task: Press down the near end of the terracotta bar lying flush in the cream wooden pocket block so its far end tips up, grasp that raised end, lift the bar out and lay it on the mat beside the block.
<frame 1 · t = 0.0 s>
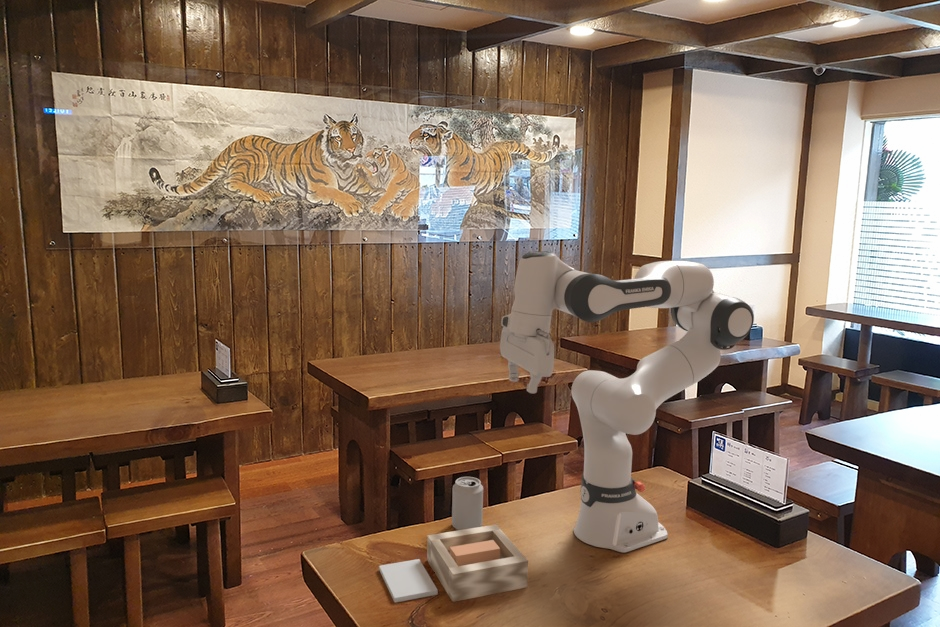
hand: (522, 386, 157), 39 cm above the table, tool pointing down, fingers open, 8 cm apart
bar: (474, 560, 153), point 3 cm above the table, touching pocket block
pocket block: (474, 573, 153), on the table
mat: (407, 581, 149), on the table
can: (467, 527, 174), on the table
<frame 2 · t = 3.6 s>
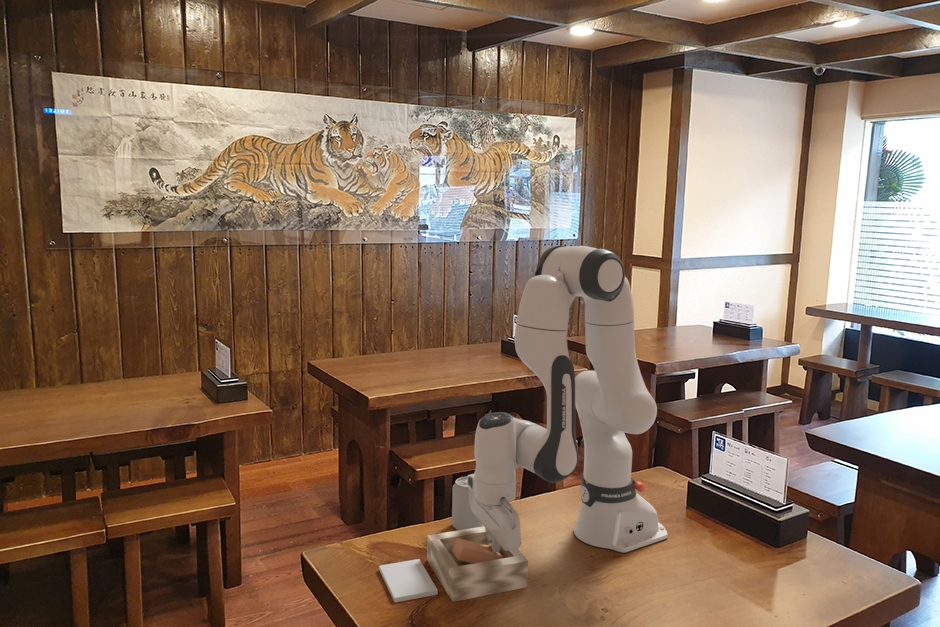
hand: (493, 548, 154), 5 cm above the table, tool pointing down, fingers closed, pressing on bar
bar: (474, 559, 153), point 3 cm above the table, tilted 23°, touching gripper, pocket block
everything else where it was.
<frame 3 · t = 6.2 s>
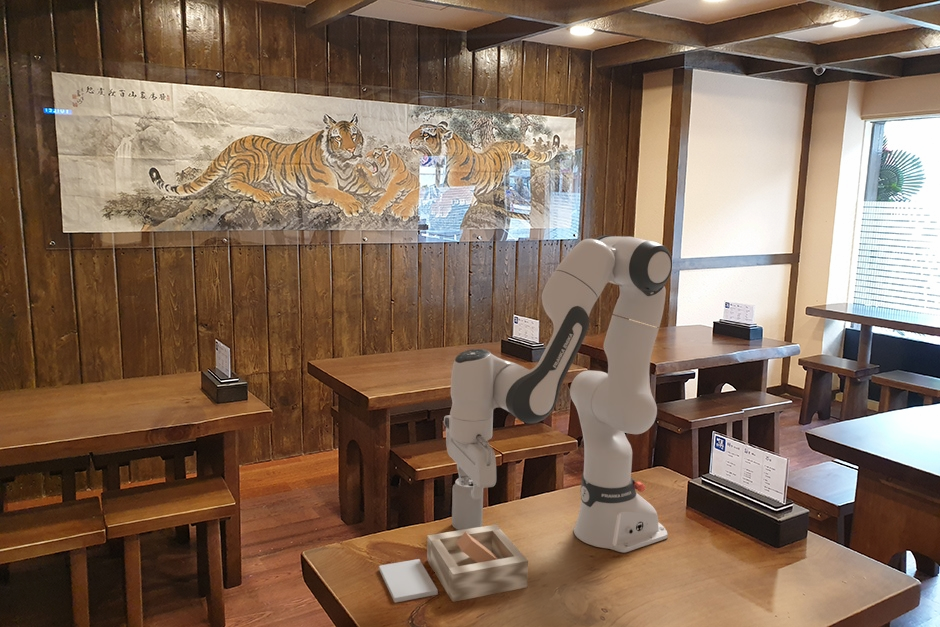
hand: (469, 491, 149), 19 cm above the table, tool pointing down, fingers open, 6 cm apart
bar: (475, 559, 153), point 3 cm above the table, tilted 43°, touching pocket block
everything else where it was.
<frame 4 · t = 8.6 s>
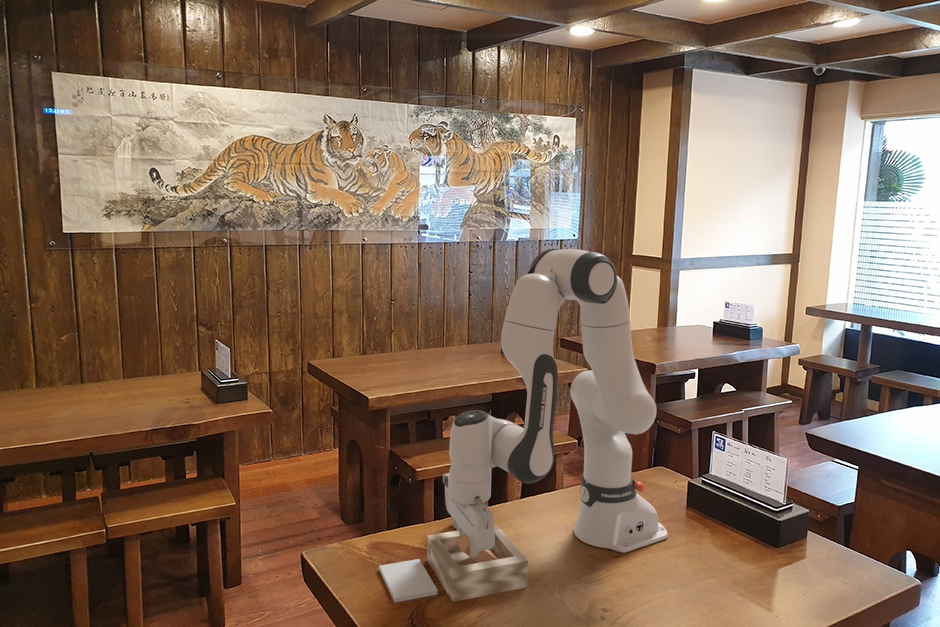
hand: (468, 549, 152), 6 cm above the table, tool pointing down, fingers closed on bar, 4 cm apart
bar: (475, 559, 153), point 3 cm above the table, tilted 43°, touching gripper, pocket block
everything else where it was.
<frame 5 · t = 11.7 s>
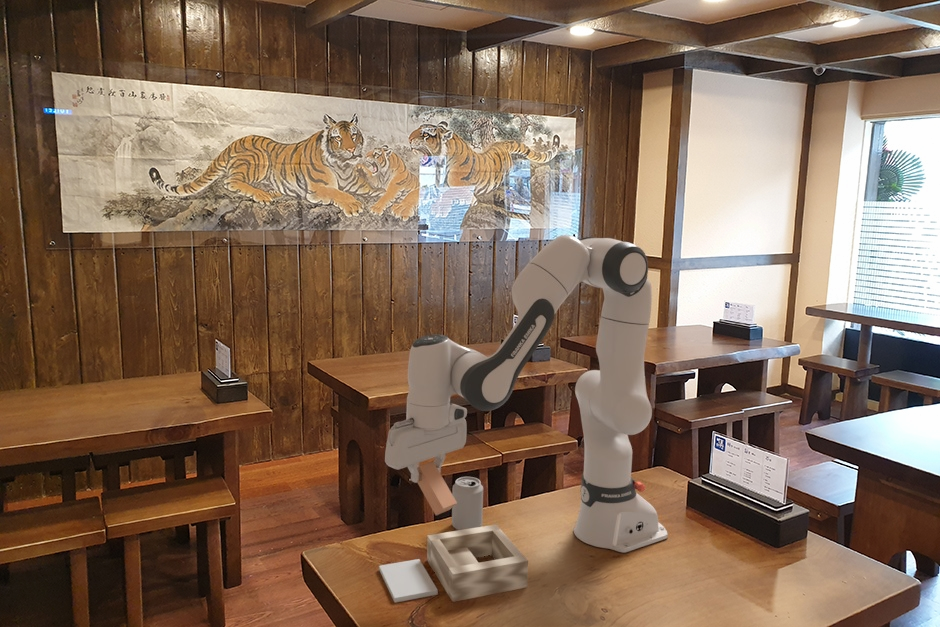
hand: (425, 477, 148), 22 cm above the table, tool pointing down, fingers closed on bar, 4 cm apart
bar: (430, 491, 148), point 20 cm above the table, tilted 43°, touching gripper
everything else where it was.
when the fingers open (9 cm above the table, at t = 14.9 s): bar drops 5 cm, resting on mat.
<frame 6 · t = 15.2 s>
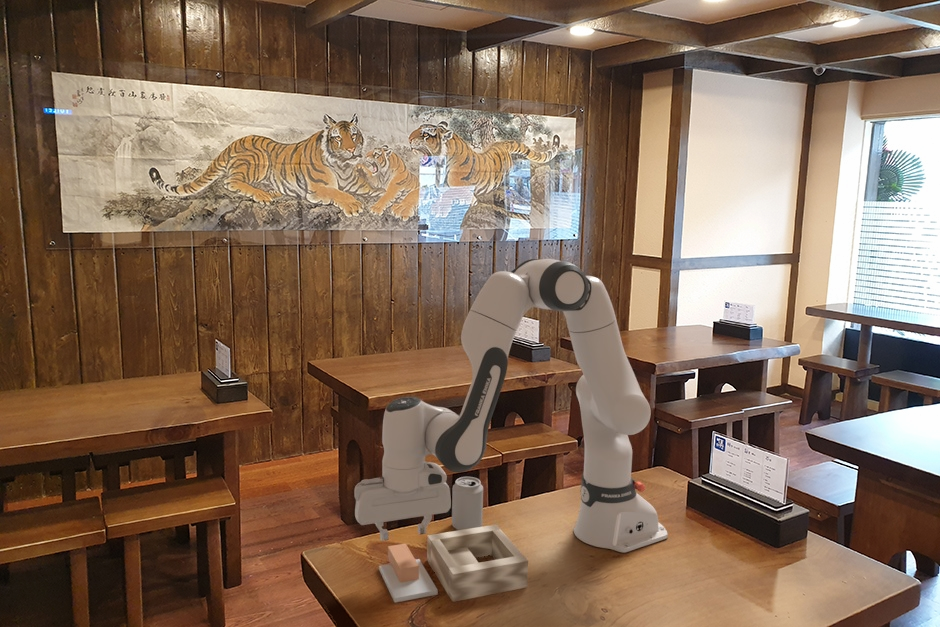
hand: (403, 536, 151), 9 cm above the table, tool pointing down, fingers open, 7 cm apart
bar: (403, 568, 153), point 1 cm above the table, touching mat
everything else where it was.
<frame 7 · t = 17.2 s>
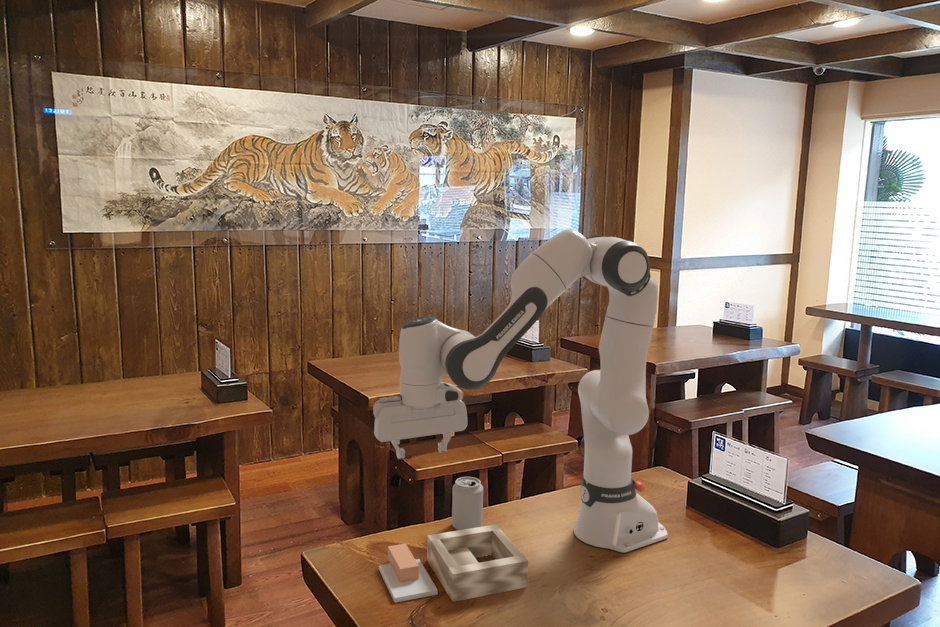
hand: (421, 454, 154), 25 cm above the table, tool pointing down, fingers open, 8 cm apart
nothing on the table moved.
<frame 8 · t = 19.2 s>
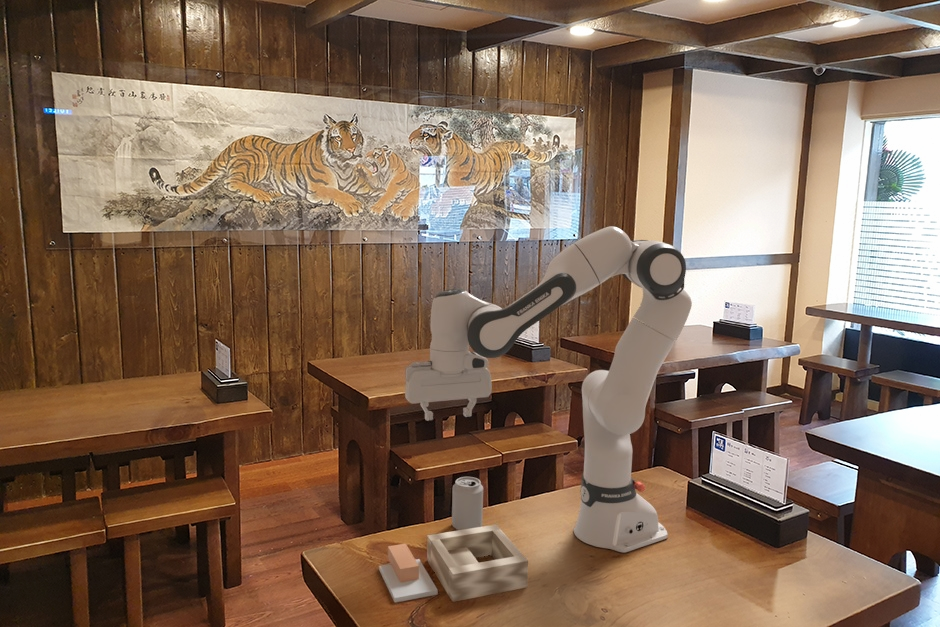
hand: (448, 417, 165), 29 cm above the table, tool pointing down, fingers open, 8 cm apart
nothing on the table moved.
at the end: bar inside the target area on the mat (3.6 cm from its centre), point 1.0 cm above the mat's base; bar touching mat; the gripper is holding nothing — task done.
